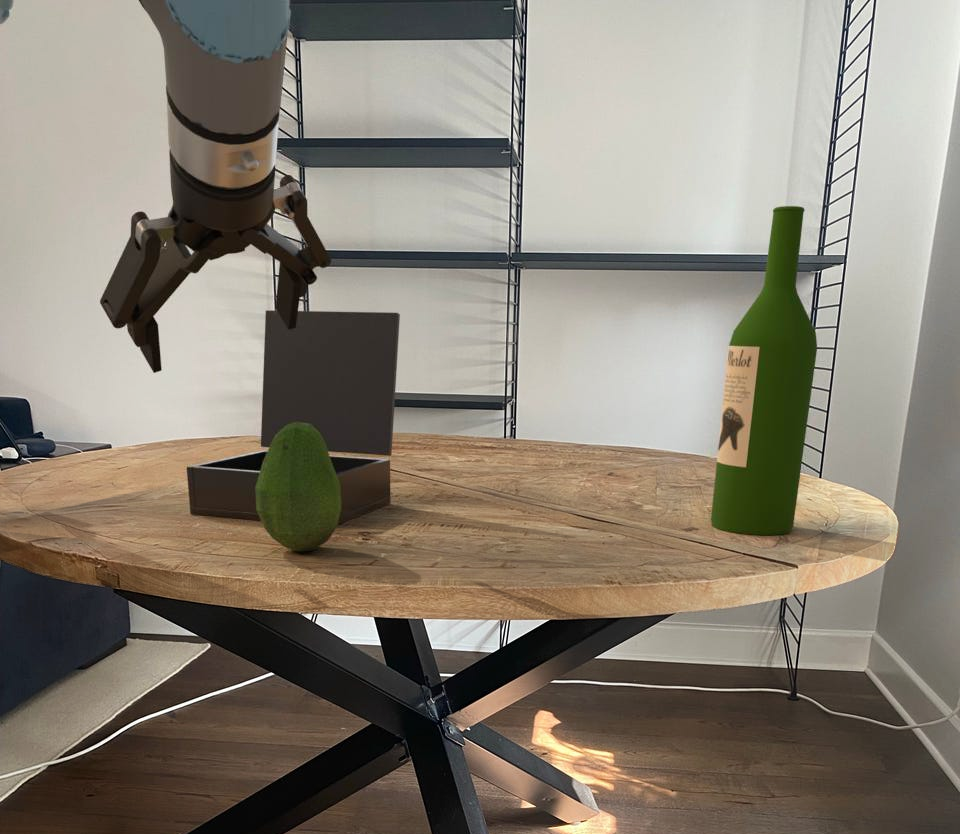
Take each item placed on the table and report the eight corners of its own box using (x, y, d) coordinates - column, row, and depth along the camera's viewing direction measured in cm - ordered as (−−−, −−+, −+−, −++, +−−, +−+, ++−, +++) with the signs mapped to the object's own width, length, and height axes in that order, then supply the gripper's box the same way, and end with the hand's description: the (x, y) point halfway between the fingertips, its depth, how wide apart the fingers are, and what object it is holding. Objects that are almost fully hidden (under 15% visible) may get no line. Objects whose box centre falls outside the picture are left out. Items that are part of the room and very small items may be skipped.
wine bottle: (693, 522, 104) (724, 208, 93) (752, 516, 108) (788, 215, 97) (748, 538, 96) (789, 199, 86) (810, 531, 100) (856, 206, 90)
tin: (330, 527, 97) (328, 477, 95) (190, 514, 102) (186, 466, 100) (390, 503, 111) (390, 459, 109) (264, 492, 116) (262, 450, 114)
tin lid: (397, 312, 106) (400, 313, 107) (265, 310, 111) (268, 311, 112) (388, 455, 109) (391, 455, 109) (260, 446, 114) (263, 447, 115)
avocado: (348, 541, 91) (344, 418, 87) (335, 560, 83) (331, 426, 79) (268, 539, 91) (261, 416, 87) (248, 558, 83) (240, 425, 79)
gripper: (76, 236, 61) (108, 413, 80) (395, 157, 70) (355, 331, 90) (27, 150, 62) (70, 345, 81) (347, 84, 72) (318, 272, 91)
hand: (220, 338), depth 85 cm, fingers open, 13 cm apart
